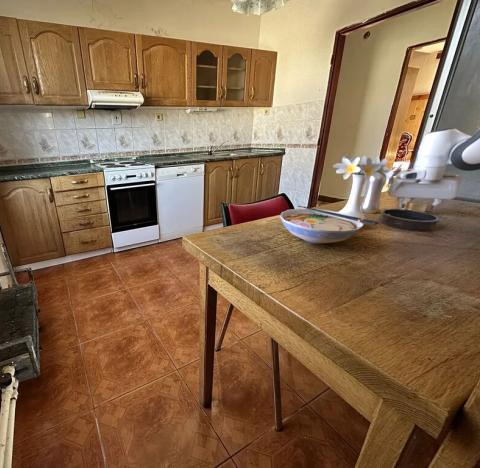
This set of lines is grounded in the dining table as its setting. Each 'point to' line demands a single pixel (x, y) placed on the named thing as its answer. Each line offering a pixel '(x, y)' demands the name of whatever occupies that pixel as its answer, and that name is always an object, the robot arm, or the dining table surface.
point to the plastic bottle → (372, 194)
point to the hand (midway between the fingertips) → (415, 208)
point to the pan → (409, 219)
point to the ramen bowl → (321, 224)
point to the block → (416, 206)
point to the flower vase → (362, 179)
